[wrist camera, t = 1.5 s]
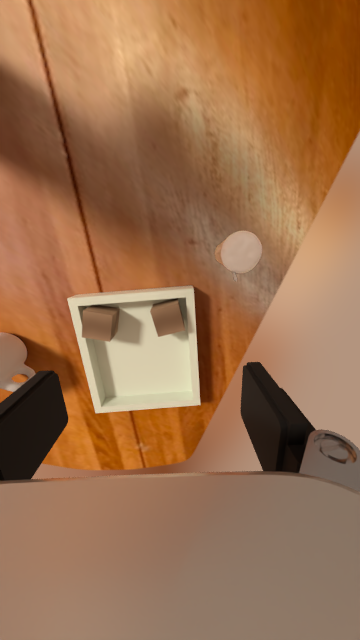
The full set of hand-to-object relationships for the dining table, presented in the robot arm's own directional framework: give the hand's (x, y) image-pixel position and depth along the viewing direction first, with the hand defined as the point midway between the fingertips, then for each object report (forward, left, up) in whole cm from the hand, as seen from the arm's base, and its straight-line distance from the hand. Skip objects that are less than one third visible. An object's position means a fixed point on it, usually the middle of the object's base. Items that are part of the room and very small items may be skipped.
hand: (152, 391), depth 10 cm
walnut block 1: (+2, -10, -23) cm, 25 cm away
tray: (+8, -5, -23) cm, 25 cm away
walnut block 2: (+2, 0, -23) cm, 23 cm away
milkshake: (-6, +9, -24) cm, 26 cm away
